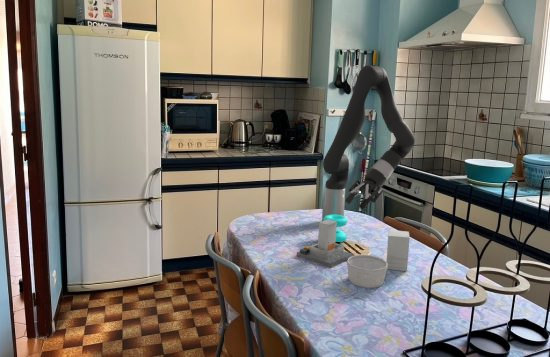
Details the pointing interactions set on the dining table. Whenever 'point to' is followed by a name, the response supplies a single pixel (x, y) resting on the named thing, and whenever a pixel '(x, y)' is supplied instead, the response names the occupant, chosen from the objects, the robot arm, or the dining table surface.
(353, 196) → the robot arm
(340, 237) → the donuts
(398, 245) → the supplement box
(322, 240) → the skincare box
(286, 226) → the dining table surface
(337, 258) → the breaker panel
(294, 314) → the dining table surface
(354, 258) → the ramekin
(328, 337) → the dining table surface
